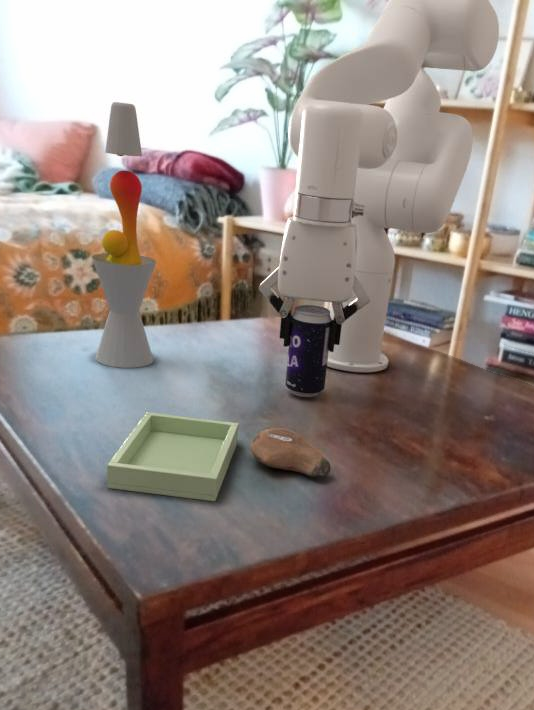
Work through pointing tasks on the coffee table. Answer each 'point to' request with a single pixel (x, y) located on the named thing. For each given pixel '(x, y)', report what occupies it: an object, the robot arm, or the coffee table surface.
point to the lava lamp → (124, 255)
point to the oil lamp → (288, 452)
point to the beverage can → (308, 350)
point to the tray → (174, 457)
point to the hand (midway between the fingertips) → (309, 345)
